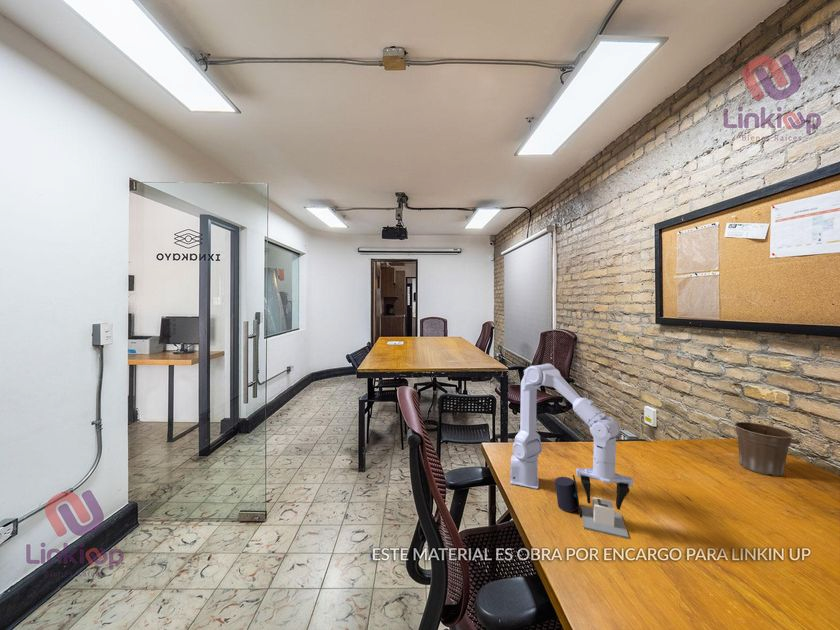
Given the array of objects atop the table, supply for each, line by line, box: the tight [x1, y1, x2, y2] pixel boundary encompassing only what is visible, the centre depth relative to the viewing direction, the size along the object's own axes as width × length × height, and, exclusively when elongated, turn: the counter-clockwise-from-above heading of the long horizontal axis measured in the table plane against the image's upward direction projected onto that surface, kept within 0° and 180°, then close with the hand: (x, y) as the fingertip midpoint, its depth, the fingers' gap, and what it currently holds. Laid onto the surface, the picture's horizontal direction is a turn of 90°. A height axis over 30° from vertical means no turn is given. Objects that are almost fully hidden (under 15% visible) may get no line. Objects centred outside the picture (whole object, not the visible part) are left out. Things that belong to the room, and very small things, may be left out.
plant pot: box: [734, 421, 795, 477], centre depth 130 cm, size 16×16×16 cm
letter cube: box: [592, 496, 615, 527], centre depth 97 cm, size 5×5×5 cm
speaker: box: [554, 474, 582, 518], centre depth 104 cm, size 8×6×10 cm
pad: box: [580, 505, 630, 539], centre depth 97 cm, size 11×11×1 cm
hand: (603, 504), depth 97 cm, fingers open, 7 cm apart
